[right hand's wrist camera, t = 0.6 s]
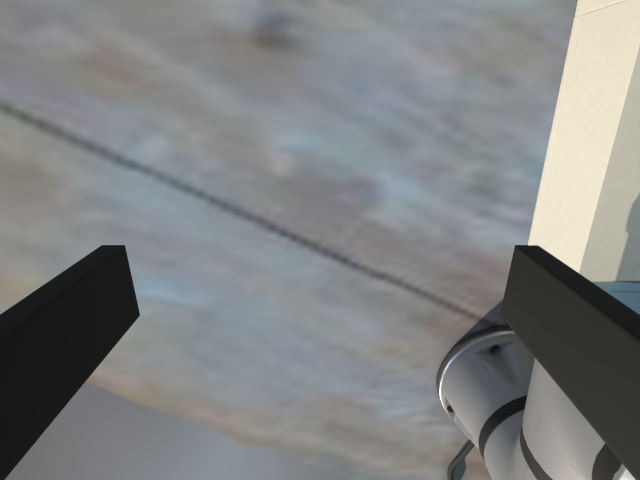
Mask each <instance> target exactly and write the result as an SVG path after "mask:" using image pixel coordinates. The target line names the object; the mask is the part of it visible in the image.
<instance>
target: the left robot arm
mask: <svg viewBox="0 0 640 480" xmlns="http://www.w3.org/2000/svg"><path fill="white" fill-rule="evenodd" d="M592 283H594V284H595V285H597V286H598V287H600V288H601V289H603V290H604V291H606V292H607V293H609V294H610V295H612V296H613V297H614V298H616V299H617V300H619V301H620V302H622V303H623V304H625V305H626V306H628V307H629V308H631V309H632V310H634V311H635V312H636V313H638V314H639V315H640V284H638V283H628V282H592ZM436 384H437V392H438V395H439V397H440V400H441V402H442V405H443V407H444V409H445V411H446V412H447V414H448V415H449V417H450V418H451V419H452V420H453V421H454V422H455V424H456V425H457V426H458V427H459V428H460V429H461V430H462V431H463V432H464V434H465V435H466V436H467V437H468V438H469V439H470V442H469V443H468V444H467V445H466V447H465V448H464V449H463V450H462V452H461V453H460V454H459V455H458V456H457V457H456V458H455V459H454V460H453V461H452V462H451V464H450V466H449V468H448V480H453V471H454V469H455V467H456V466H457V464H458V463H459V462H460V461H461V460H462V459H463V458H465V456H466V455H467V454H468V453H469V452H470V451H471V449H472V448H473V447H474V446H476V447H477V448H478V449H479V451H480V453H481V455H482V457H483V460H484V462H485V464H486V466H487V468H488V471H489V473H490V475H491V477H492V480H635V478H634V477H633V476H632V475H631V473H630V472H629V471H628V470H627V469H626V467H625V466H624V465H623V464H622V463H621V461H620V460H619V459H618V458H617V457H616V455H615V454H614V453H613V452H612V450H611V449H610V448H609V447H608V446H607V444H606V443H605V442H604V441H603V440H602V438H601V437H600V436H599V435H598V433H597V432H596V431H595V430H594V429H593V427H592V426H591V425H590V424H589V423H588V421H587V420H586V419H585V418H584V416H583V415H582V414H581V413H580V412H579V410H578V409H577V408H576V407H575V406H574V404H573V403H572V402H571V401H570V399H569V398H568V397H567V396H566V395H565V393H564V392H563V391H562V390H561V389H560V387H559V386H558V385H557V384H556V382H555V381H554V380H553V379H552V378H551V376H550V375H549V374H548V373H547V372H546V370H545V369H544V368H543V367H542V365H541V364H540V363H539V362H538V361H537V359H536V358H535V357H534V356H533V355H532V353H531V352H530V351H529V350H528V348H527V347H526V346H525V345H524V344H523V342H522V341H521V340H520V339H519V338H518V336H517V335H516V334H515V333H514V331H513V330H512V329H511V328H510V327H509V326H500V327H494V328H489V329H486V330H482V331H480V332H477V333H475V334H473V335H471V336H469V337H467V338H465V339H464V340H462V341H461V342H460V343H458V344H457V345H456V346H455V347H454V348H453V349H452V350H451V351H450V352H449V353H448V354H447V356H446V357H445V358H444V360H443V362H442V363H441V365H440V368H439V371H438V374H437V381H436Z"/></svg>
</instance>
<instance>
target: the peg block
mask: <svg viewBox="0 0 640 480" xmlns="http://www.w3.org/2000/svg"><path fill="white" fill-rule="evenodd" d="M575 16H576V17H574V22H573V27H572V32H571V37H570V42H569V46H568V51H567V56H566V61H565V66H564V71H563V76H562V81H561V86H560V90H559V95H558V100H557V105H556V110H555V115H554V120H553V125H552V129H551V134H550V139H549V144H548V149H547V154H546V159H545V164H544V169H543V173H542V178H541V183H540V188H539V193H538V198H537V203H536V208H535V212H534V217H533V222H532V227H531V232H530V237H529V242H528V245H538V246H540V247H541V248H543V249H544V250H546V251H547V252H549V253H550V254H551V255H553V256H554V257H556V258H557V259H559V260H560V261H562V262H563V263H565V264H566V265H568V266H569V267H571V268H572V269H573V270H575V271H576V272H578V273H579V274H581V275H582V276H584V277H585V278H587V279H588V280H590V281H591V282H594V281H640V0H578V3H577V8H576V13H575Z"/></svg>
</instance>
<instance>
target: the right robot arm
mask: <svg viewBox="0 0 640 480" xmlns="http://www.w3.org/2000/svg"><path fill="white" fill-rule="evenodd" d="M139 316H140V313H139V309H138V304H137V299H136V295H135V290H134V286H133V281H132V276H131V272H130V267H129V262H128V258H127V253H126V249H125V245H102V246H100V247H99V248H97V249H96V250H94V251H93V252H91V253H90V254H89V255H87V256H86V257H84V258H83V259H81V260H80V261H78V262H77V263H75V264H74V265H72V266H71V267H69V268H68V269H67V270H65V271H64V272H62V273H61V274H59V275H58V276H56V277H55V278H53V279H52V280H50V281H49V282H48V283H46V284H45V285H43V286H42V287H40V288H39V289H37V290H36V291H34V292H33V293H31V294H30V295H28V296H27V297H26V298H24V299H23V300H21V301H20V302H18V303H17V304H15V305H14V306H12V307H11V308H9V309H8V310H6V311H5V312H4V313H2V314H1V315H0V480H4V479H5V478H6V477H7V476H8V475H9V473H10V472H11V471H12V470H13V469H14V467H15V466H16V465H17V464H18V463H19V461H20V460H21V459H22V458H23V457H24V455H25V454H26V453H27V452H28V450H29V449H30V448H31V447H32V446H33V444H34V443H35V442H36V441H37V439H38V438H39V437H40V436H41V435H42V433H43V432H44V431H45V430H46V429H47V427H48V426H49V425H50V424H51V423H52V421H53V420H54V419H55V418H56V416H57V415H58V414H59V413H60V412H61V410H62V409H63V408H64V407H65V406H66V404H67V403H68V402H69V401H70V399H71V398H72V397H73V396H74V395H75V393H76V392H77V391H78V390H79V388H80V387H81V386H82V385H83V384H84V382H85V381H86V380H87V379H88V378H89V376H90V375H91V374H92V373H93V372H94V370H95V369H96V368H97V367H98V365H99V364H100V363H101V362H102V361H103V359H104V358H105V357H106V356H107V355H108V353H109V352H110V351H111V350H112V348H113V347H114V346H115V345H116V344H117V342H118V341H119V340H120V339H121V338H122V336H123V335H124V334H125V333H126V331H127V330H128V329H129V328H130V327H131V325H132V324H133V323H134V322H135V321H136V319H137V318H138V317H139ZM500 316H501V317H502V318H503V319H504V321H505V322H506V323H507V324H508V325H509V327H510V328H511V329H512V330H513V331H514V333H515V334H516V335H517V336H518V338H519V339H520V340H521V341H522V342H523V344H524V345H525V346H526V347H527V348H528V350H529V351H530V352H531V353H532V355H533V356H534V357H535V358H536V359H537V361H538V362H539V363H540V364H541V365H542V367H543V368H544V369H545V370H546V372H547V373H548V374H549V375H550V376H551V378H552V379H553V380H554V381H555V382H556V384H557V385H558V386H559V387H560V389H561V390H562V391H563V392H564V393H565V395H566V396H567V397H568V398H569V399H570V401H571V402H572V403H573V404H574V406H575V407H576V408H577V409H578V410H579V412H580V413H581V414H582V415H583V416H584V418H585V419H586V420H587V421H588V423H589V424H590V425H591V426H592V427H593V429H594V430H595V431H596V432H597V433H598V435H599V436H600V437H601V438H602V440H603V441H604V442H605V443H606V444H607V446H608V447H609V448H610V449H611V450H612V452H613V453H614V454H615V455H616V457H617V458H618V459H619V460H620V461H621V463H622V464H623V465H624V466H625V467H626V469H627V470H628V471H629V472H630V473H631V475H632V476H633V477H634V478H635V480H640V315H639V314H638V313H636V312H635V311H634V310H632V309H631V308H629V307H628V306H626V305H625V304H623V303H622V302H620V301H619V300H617V299H616V298H614V297H613V296H612V295H610V294H609V293H607V292H606V291H604V290H603V289H601V288H600V287H598V286H597V285H595V284H594V283H592V282H591V281H590V280H588V279H587V278H585V277H584V276H582V275H581V274H579V273H578V272H576V271H575V270H573V269H572V268H571V267H569V266H568V265H566V264H565V263H563V262H562V261H560V260H559V259H557V258H556V257H554V256H553V255H551V254H550V253H549V252H547V251H546V250H544V249H543V248H541V247H540V246H538V245H515V249H514V253H513V258H512V262H511V267H510V272H509V276H508V281H507V286H506V290H505V295H504V299H503V304H502V309H501V313H500Z"/></svg>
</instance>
